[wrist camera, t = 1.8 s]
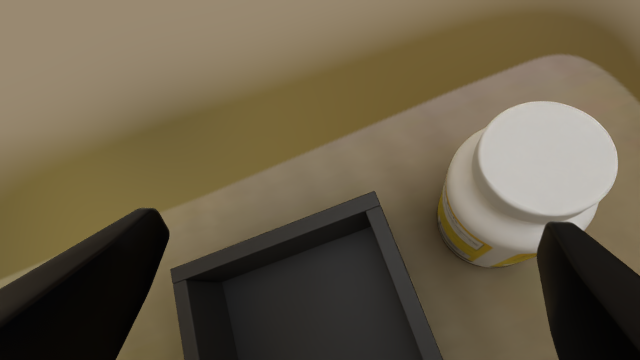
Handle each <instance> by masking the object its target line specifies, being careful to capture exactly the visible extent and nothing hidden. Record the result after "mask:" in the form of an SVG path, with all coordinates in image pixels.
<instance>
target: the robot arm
mask: <svg viewBox="0 0 640 360" xmlns="http://www.w3.org/2000/svg"><path fill="white" fill-rule="evenodd" d="M168 240H169V229H168V228H167V226H166V224H165V222H164V221H163V219H162V217H161V215H160V214H159V212H158V211H157V210H156V209H154V208H139V209H137V210H135V211H133V212H131V213H130V214H128V215H126V216H125V217H123V218H121V219H119V220H118V221H116V222H114V223H113V224H111V225H109V226H107V227H106V228H104V229H102V230H101V231H99V232H97V233H95V234H94V235H92V236H90V237H88V238H87V239H85V240H83V241H82V242H80V243H78V244H76V245H75V246H73V247H71V248H70V249H68V250H66V251H64V252H63V253H61V254H59V255H58V256H56V257H54V258H52V259H51V260H49V261H47V262H46V263H44V264H42V265H40V266H39V267H37V268H35V269H34V270H32V271H30V272H28V273H27V274H25V275H23V276H22V277H20V278H18V279H16V280H15V281H13V282H11V283H10V284H8V285H6V286H4V287H3V288H1V289H0V360H116V358H117V356H118V354H119V352H120V350H121V348H122V346H123V344H124V342H125V340H126V338H127V336H128V334H129V332H130V330H131V328H132V325H133V323H134V321H135V319H136V317H137V315H138V313H139V311H140V309H141V307H142V305H143V303H144V301H145V299H146V297H147V295H148V292H149V290H150V288H151V285H152V283H153V280H154V277H155V275H156V272H157V269H158V267H159V264H160V261H161V259H162V256H163V253H164V251H165V248H166V245H167V243H168ZM537 262H538V268H539V273H540V279H541V284H542V289H543V295H544V300H545V306H546V311H547V317H548V322H549V326H550V331H551V335H552V338H553V342H554V345H555V348H556V352H557V355H558V358H559V360H640V276H639V275H638V274H637V273H636V272H634V271H633V270H632V269H631V268H629V267H628V266H627V265H626V264H624V263H623V262H622V261H621V260H619V259H618V258H617V257H616V256H614V255H613V254H612V253H611V252H609V251H608V250H607V249H606V248H604V247H603V246H602V245H601V244H599V243H598V242H597V241H596V240H594V239H593V238H592V237H591V236H589V235H588V234H587V233H586V232H584V231H583V230H582V229H581V228H579V227H578V226H577V225H575V224H574V223H572V222H564V221H550V222H548V223H547V224H546V225H545V227H544V230H543V233H542V236H541V239H540V242H539V245H538V248H537Z"/></svg>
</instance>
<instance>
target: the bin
mask: <svg viewBox="0 0 640 360" xmlns="http://www.w3.org/2000/svg"><path fill="white" fill-rule="evenodd" d="M171 276H172V283H173V288H174V294H175V301H176V307H177V314H178V320H179V327H180V333H181V340H182V346H183V353H184V359H185V360H443V358H442V356H441V353H440V351H439V349H438V346H437V344H436V341H435V339H434V336H433V334H432V331H431V329H430V326H429V324H428V321H427V319H426V316H425V314H424V311H423V309H422V307H421V304H420V302H419V299H418V297H417V294H416V292H415V289H414V287H413V284H412V282H411V279H410V277H409V274H408V272H407V270H406V267H405V265H404V262H403V260H402V257H401V255H400V252H399V250H398V247H397V245H396V242H395V240H394V237H393V235H392V232H391V230H390V228H389V225H388V223H387V220H386V218H385V215H384V213H383V210H382V208H381V206H380V203H379V200H378V198H377V195H376V193H375V191H373V192H370V193H368V194H365V195H363V196H360V197H357V198H355V199H352V200H350V201H347V202H344V203H342V204H339V205H337V206H334V207H331V208H329V209H326V210H324V211H321V212H318V213H316V214H313V215H311V216H308V217H305V218H303V219H300V220H298V221H295V222H292V223H290V224H287V225H285V226H282V227H279V228H277V229H274V230H272V231H269V232H266V233H264V234H261V235H259V236H256V237H253V238H251V239H248V240H246V241H243V242H240V243H238V244H235V245H233V246H230V247H227V248H225V249H222V250H220V251H217V252H214V253H212V254H209V255H207V256H204V257H201V258H199V259H196V260H194V261H191V262H188V263H186V264H183V265H181V266H178V267H175V268H173V269H171Z"/></svg>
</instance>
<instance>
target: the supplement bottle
mask: <svg viewBox="0 0 640 360" xmlns="http://www.w3.org/2000/svg"><path fill="white" fill-rule="evenodd" d="M617 170H618V157H617V151H616V148H615V145H614V143H613V141H612V139H611V137H610V136H609V134H608V133H607V131H606V130H605V129H604V128H603V127H602V126H601V125H600V124H599V123H598V122H597V121H596V120H595V119H594V118H593V117H591V116H590V115H588V114H586V113H585V112H583V111H581V110H579V109H577V108H574V107H571V106H569V105H566V104H561V103H557V102H548V101H536V102H528V103H523V104H519V105H516V106H514V107H511V108H509V109H507V110H505V111H504V112H502V113H500V114H499V115H498V116H496V117H495V118H494V119H493V120H492V121H491V122H490V123H489V124H488V126H487V127H486V128H484V129H482V130H480V131H478V132H476V133H475V134H473V135H472V136H471V137H469V138H468V139H467V140H466V141H465V142H464V143H463V144H462V145H461V146H460V147H459V149H458V150H457V152H456V153H455V155H454V157H453V159H452V161H451V163H450V166H449V169H448V172H447V176H446V179H445V183H444V186H443V190H442V193H441V197H440V200H439V204H438V210H437V222H438V228H439V231H440V234H441V236H442V238H443V240H444V241H445V243H446V244H447V246H448V247H449V248H450V249H451V250H452V251H453V252H454V253H455V254H456V255H458V256H459V257H460V258H462V259H463V260H465V261H467V262H469V263H472V264H475V265H478V266H482V267H489V268H498V267H505V266H509V265H513V264H516V263H519V262H521V261H524V260H527V259H529V258H532V257H535V256H537V248H538V245H539V242H540V239H541V236H542V233H543V230H544V227H545V225H546V224H547V223H548V222H550V221H564V222H572V223H574V224H575V225H577V226H578V227H579V228H581V229H582V230H583V231H584V230H585V229H586V227H587V226H588V225H589V224H590V222H591V221H592V219H593V217H594V215H595V213H596V210H597V207H598V203H599V201H600V200H601V199H602V198H604V196H605V195H606V194H607V193H608V192H609V190H610V189H611V187H612V185H613V184H614V181H615V178H616V175H617Z"/></svg>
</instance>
